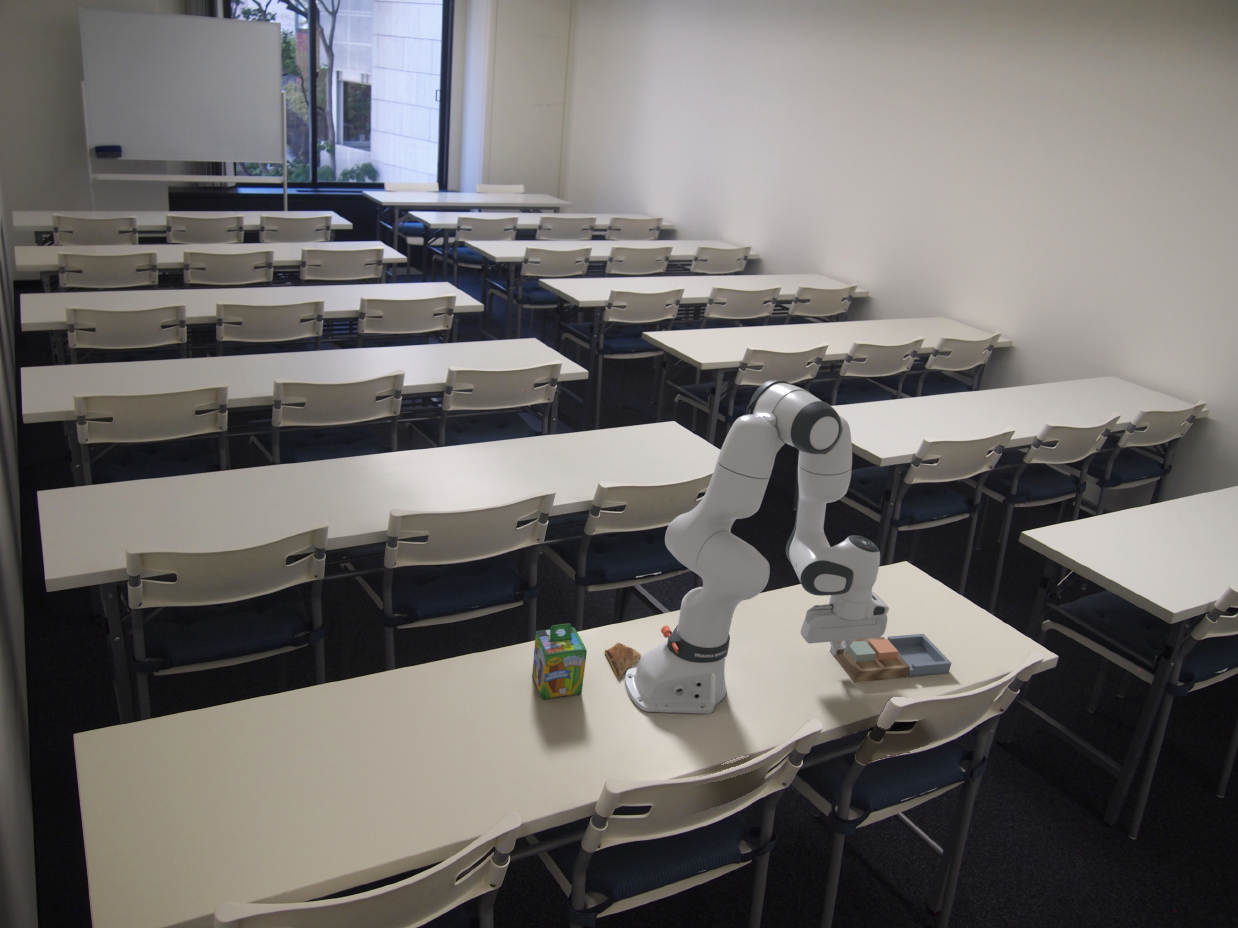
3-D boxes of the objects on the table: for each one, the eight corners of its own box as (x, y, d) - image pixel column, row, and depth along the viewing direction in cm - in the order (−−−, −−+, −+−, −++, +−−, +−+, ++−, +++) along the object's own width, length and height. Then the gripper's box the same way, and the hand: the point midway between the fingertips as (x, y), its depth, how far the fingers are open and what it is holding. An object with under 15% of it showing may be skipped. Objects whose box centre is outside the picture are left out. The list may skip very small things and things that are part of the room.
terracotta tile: (877, 659, 214) (879, 652, 213) (867, 647, 219) (869, 640, 218) (896, 658, 216) (898, 651, 215) (885, 645, 220) (887, 638, 219)
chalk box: (541, 700, 193) (546, 642, 187) (530, 674, 201) (535, 617, 195) (583, 694, 196) (589, 637, 190) (570, 668, 204) (576, 612, 198)
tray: (908, 677, 214) (911, 666, 213) (881, 646, 225) (884, 636, 224) (948, 673, 218) (951, 662, 216) (920, 643, 228) (923, 633, 227)
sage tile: (855, 662, 213) (857, 654, 212) (844, 649, 217) (846, 642, 216) (874, 660, 214) (876, 653, 213) (863, 647, 218) (865, 640, 218)
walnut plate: (854, 682, 210) (857, 671, 209) (829, 651, 221) (832, 641, 220) (907, 677, 214) (910, 666, 213) (880, 647, 225) (883, 636, 224)
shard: (618, 681, 202) (619, 675, 202) (589, 668, 206) (589, 662, 205) (642, 658, 211) (642, 652, 210) (613, 646, 214) (614, 640, 214)
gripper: (814, 613, 202) (803, 665, 208) (895, 607, 208) (882, 657, 213) (802, 598, 208) (791, 648, 213) (881, 592, 213) (868, 641, 219)
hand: (837, 653), depth 213 cm, fingers closed
